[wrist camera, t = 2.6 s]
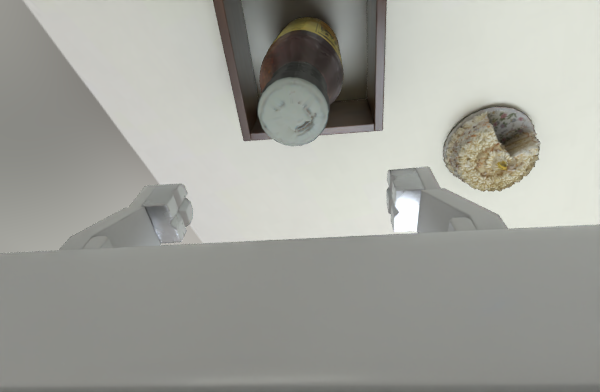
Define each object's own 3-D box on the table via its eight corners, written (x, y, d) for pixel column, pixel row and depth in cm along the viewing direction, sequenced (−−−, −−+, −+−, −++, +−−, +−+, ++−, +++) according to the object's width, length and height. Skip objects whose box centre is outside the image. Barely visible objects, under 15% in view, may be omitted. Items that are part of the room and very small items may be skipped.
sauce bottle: (340, 74, 37) (355, 168, 21) (283, 82, 38) (254, 178, 22) (335, 5, 34) (347, 53, 17) (271, 15, 34) (226, 71, 18)
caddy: (375, -42, 31) (388, -42, 25) (373, 104, 39) (382, 130, 33) (228, -24, 33) (208, -19, 27) (254, 114, 40) (243, 141, 34)
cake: (501, 186, 45) (518, 214, 40) (427, 169, 44) (437, 196, 40) (553, 117, 38) (579, 141, 34) (468, 96, 38) (484, 119, 33)
